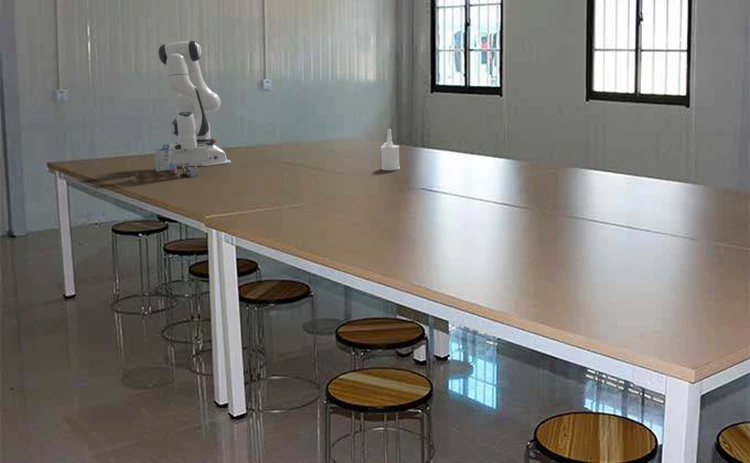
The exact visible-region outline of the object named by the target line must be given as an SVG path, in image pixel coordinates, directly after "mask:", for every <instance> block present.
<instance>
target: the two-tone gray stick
mask: <svg viewBox="0 0 750 463" xmlns="http://www.w3.org/2000/svg"><path fill="white" fill-rule="evenodd" d="M184 167H185V169H187V172H185V173H184V169H183V168H182V174H183V175H185V176H187V177H189V178H198V173H197V172H198V171H197V168H194V167H195V166H192V165H189V164H185V166H184Z"/></svg>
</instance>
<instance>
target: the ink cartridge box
mask: <svg viewBox="0 0 750 463" xmlns="http://www.w3.org/2000/svg"><path fill="white" fill-rule="evenodd" d="M170 150H171V149H170V144H163V146H162V147H161V148H159V149H155V150H154V158H155V159H154V160H155V171H163V170H173V171H175V173H176V174H178V173H177V172H178V168H177V166H178V165H177V164H175V165H171V164H170V163H169V151H170Z"/></svg>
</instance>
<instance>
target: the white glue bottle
mask: <svg viewBox="0 0 750 463" xmlns="http://www.w3.org/2000/svg"><path fill="white" fill-rule="evenodd" d="M392 134H393V133H392V129H391V128H388V129H387V133H386V135H387V137H386V142H384V143H382V146H380V149H381V170H383V171H397V170H400V169H401V167H400V145H396V144H393V143H394V142H393V141H392V140H393V138H392Z"/></svg>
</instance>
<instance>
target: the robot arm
mask: <svg viewBox="0 0 750 463" xmlns="http://www.w3.org/2000/svg"><path fill="white" fill-rule="evenodd" d="M158 57H159V60H160V62H161V63H162V64H163V65H165V73H166V82H167V86H168V87H169V89H170V90H171V91H172V92H174V93H176V94H178V95H177V96H176V98H175V100H174V106H175V108H176V110H177V111H178V112H179V113H177V118H175V119H174V120H173V121H172V122H171V129H172V130H171V131H172V132H171V133H172V134H173V135H174V136H175V137H178V140H177V142H174V143H171V144H169V149H171V150H170V151H169V163H170V164H171V165H175V164H176V165H180V166H181V168H182V170H183V169H184V173H185V172H187V169H185V167H184V166H185V165H187V164H188V165H192V167H194V168H196V169H197V168H198V166H199V167H200V166H202V167H210V166H217V165H225V164H231V163H232V161H231V160H230V159H227V155H226V152H225V150H223V149H222V148H220V147H219V146H218V145H216V143H217V142H218V140H217V138H212V136H211V127H210V126H211V124H210V123H209V121H208V120H207V115H206V114H210V113H214V112H217V111H219V110H220V107H221V104H222V103H221V102H222V101H221V98H220V96H219V94H217V93H216V92H214V91H213V90H211V89H210V88H209V86H208V85H207V83H206V82H205V80H204V78H203V74H202V70H201V68H200V64H199V61H200V59H201V58H202V47H201V45H200V43H199V42H198V41H197V40H186V41H185V40H184V41H183V40H182V41H175V42H171V43H164V44H161V45H160V47H159V48H158Z"/></svg>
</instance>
